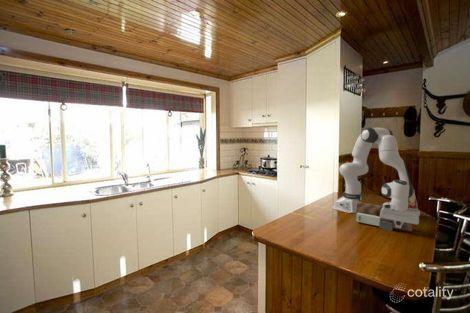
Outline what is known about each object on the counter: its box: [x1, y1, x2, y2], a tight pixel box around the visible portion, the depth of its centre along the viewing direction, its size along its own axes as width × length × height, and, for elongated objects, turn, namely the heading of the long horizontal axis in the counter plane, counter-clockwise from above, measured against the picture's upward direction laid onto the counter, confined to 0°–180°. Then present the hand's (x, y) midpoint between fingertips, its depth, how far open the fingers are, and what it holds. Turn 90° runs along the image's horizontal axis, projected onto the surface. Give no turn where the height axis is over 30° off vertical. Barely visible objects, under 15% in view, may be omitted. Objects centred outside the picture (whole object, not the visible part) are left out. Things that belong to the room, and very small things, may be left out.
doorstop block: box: [378, 218, 394, 232], centre depth 154 cm, size 7×5×5 cm
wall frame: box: [356, 202, 413, 232], centre depth 160 cm, size 32×2×12 cm, turn 49°
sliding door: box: [355, 213, 382, 227], centre depth 160 cm, size 14×4×6 cm, turn 49°
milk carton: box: [408, 189, 419, 211], centre depth 176 cm, size 9×9×20 cm
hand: (398, 227), depth 149 cm, fingers closed
